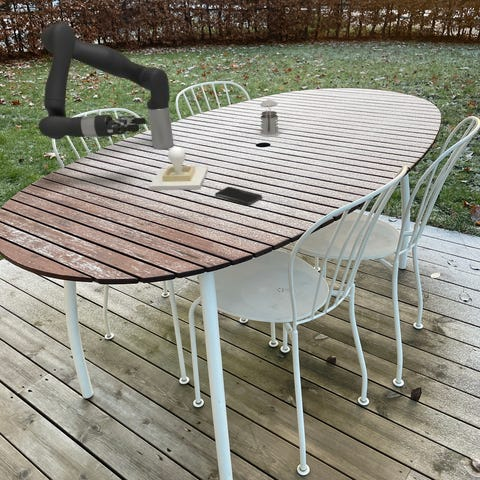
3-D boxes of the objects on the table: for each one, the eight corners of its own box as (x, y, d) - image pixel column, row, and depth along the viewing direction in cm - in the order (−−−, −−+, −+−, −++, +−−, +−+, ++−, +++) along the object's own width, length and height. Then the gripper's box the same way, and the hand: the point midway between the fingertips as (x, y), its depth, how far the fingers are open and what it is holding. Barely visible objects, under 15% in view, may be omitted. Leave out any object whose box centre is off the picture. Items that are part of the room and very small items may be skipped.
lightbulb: (172, 180, 168) (168, 150, 163) (169, 174, 174) (165, 145, 168) (188, 178, 170) (185, 148, 164) (186, 172, 175) (182, 143, 170)
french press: (280, 130, 223) (279, 75, 211) (279, 137, 213) (279, 80, 201) (259, 131, 224) (257, 76, 212) (258, 138, 214) (256, 81, 202)
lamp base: (161, 172, 181) (160, 163, 180) (207, 171, 179) (207, 162, 178) (149, 190, 165) (148, 180, 164) (200, 189, 164) (199, 179, 162)
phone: (248, 203, 149) (213, 193, 157) (248, 207, 149) (213, 196, 158) (263, 195, 154) (228, 186, 163) (263, 198, 155) (229, 189, 163)
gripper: (87, 121, 157) (134, 118, 156) (102, 110, 170) (145, 108, 168) (92, 142, 161) (138, 141, 159) (106, 130, 173) (149, 128, 172)
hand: (142, 124), depth 164 cm, fingers open, 8 cm apart
